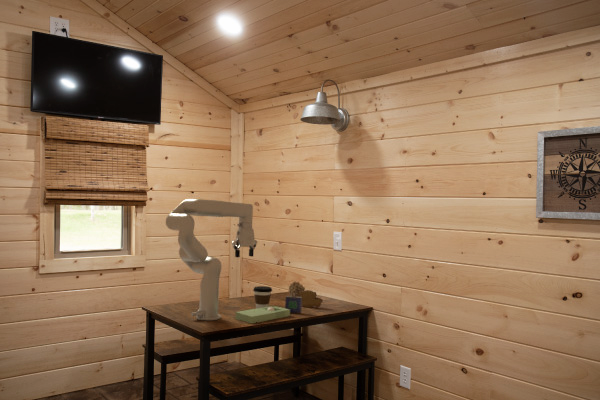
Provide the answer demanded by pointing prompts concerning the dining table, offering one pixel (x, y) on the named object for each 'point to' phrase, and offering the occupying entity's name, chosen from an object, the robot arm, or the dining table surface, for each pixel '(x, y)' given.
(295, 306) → the blue box
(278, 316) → the green tray with wells
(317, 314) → the dining table surface
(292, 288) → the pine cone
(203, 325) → the dining table surface
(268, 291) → the coffee cup
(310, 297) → the wooden carving
